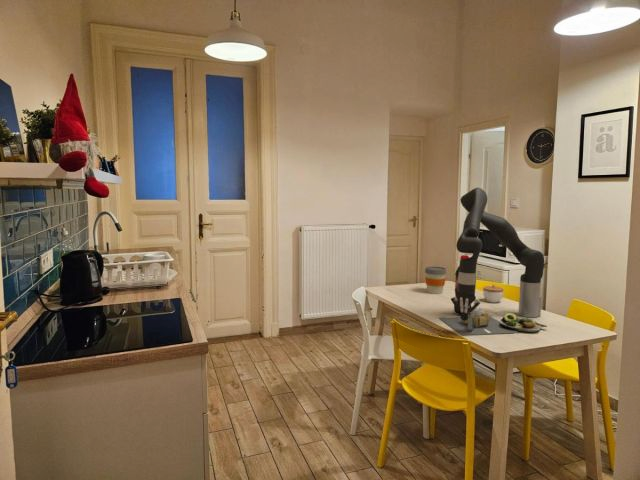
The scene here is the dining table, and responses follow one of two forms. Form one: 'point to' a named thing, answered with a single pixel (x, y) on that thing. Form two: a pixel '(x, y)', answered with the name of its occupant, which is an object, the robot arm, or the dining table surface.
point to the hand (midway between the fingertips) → (464, 320)
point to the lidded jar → (493, 293)
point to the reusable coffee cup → (435, 279)
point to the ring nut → (477, 320)
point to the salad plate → (519, 323)
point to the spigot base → (488, 329)
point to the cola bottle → (457, 285)
